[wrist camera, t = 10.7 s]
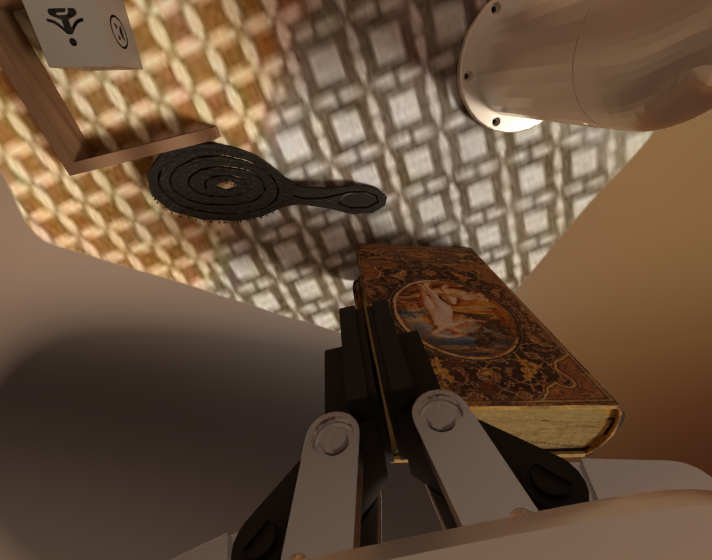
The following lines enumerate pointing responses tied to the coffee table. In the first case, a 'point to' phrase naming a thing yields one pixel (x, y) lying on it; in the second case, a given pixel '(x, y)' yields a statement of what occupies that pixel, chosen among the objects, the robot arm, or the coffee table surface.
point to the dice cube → (84, 34)
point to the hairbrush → (242, 186)
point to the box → (29, 78)
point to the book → (487, 347)
